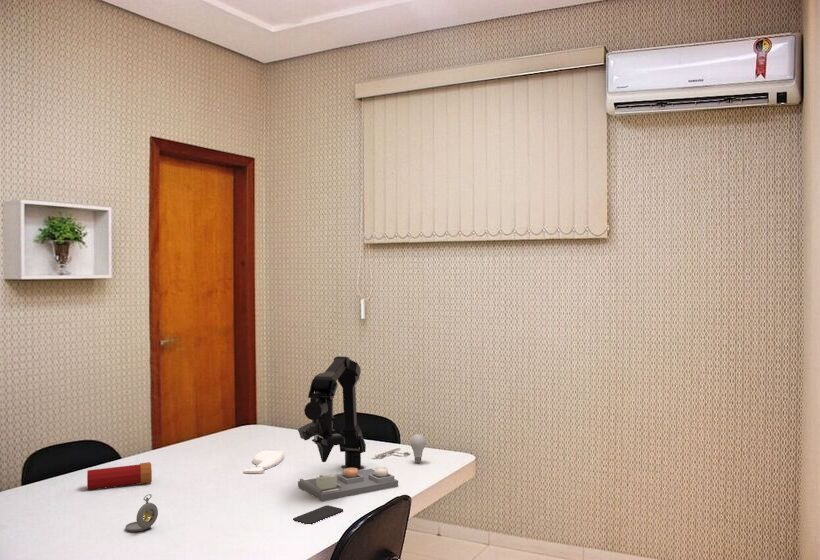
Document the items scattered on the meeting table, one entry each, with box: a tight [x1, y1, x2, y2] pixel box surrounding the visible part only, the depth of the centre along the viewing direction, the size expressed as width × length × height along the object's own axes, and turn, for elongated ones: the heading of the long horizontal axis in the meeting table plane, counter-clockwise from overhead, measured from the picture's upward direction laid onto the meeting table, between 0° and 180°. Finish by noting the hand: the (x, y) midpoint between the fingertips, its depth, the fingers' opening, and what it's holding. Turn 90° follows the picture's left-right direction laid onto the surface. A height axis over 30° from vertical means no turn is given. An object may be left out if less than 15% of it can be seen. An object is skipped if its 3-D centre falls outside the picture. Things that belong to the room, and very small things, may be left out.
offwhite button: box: [374, 466, 389, 477], centre depth 228 cm, size 5×5×2 cm
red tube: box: [86, 462, 153, 491], centre depth 227 cm, size 7×20×7 cm, turn 114°
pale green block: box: [316, 474, 337, 490], centre depth 218 cm, size 2×6×4 cm, turn 124°
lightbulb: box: [409, 433, 427, 464], centre depth 257 cm, size 6×6×11 cm
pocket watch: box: [125, 493, 159, 533], centre depth 186 cm, size 8×8×10 cm
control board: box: [297, 468, 399, 502], centre depth 226 cm, size 18×28×4 cm, turn 124°
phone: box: [292, 505, 344, 525], centre depth 198 cm, size 7×1×15 cm
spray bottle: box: [242, 450, 286, 474], centre depth 254 cm, size 3×11×24 cm
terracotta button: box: [343, 468, 359, 477], centre depth 227 cm, size 5×5×2 cm
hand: (323, 461), depth 220 cm, fingers closed
